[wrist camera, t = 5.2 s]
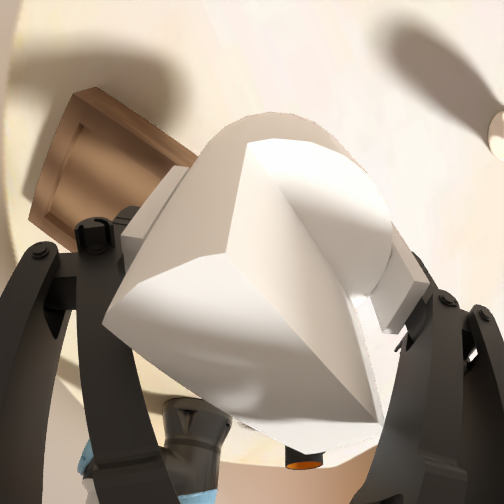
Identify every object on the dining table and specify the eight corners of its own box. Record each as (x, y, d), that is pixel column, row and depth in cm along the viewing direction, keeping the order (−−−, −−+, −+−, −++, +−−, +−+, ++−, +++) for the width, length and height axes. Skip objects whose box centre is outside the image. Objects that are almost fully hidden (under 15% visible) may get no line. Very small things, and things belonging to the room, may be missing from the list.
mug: (339, 417, 59) (343, 458, 51) (304, 434, 65) (306, 471, 57) (312, 411, 57) (314, 455, 48) (278, 428, 63) (277, 467, 54)
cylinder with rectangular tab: (378, 217, 17) (469, 397, 7) (252, 282, 20) (242, 466, 10) (301, 79, 13) (418, 121, 3) (160, 174, 16) (38, 349, 6)
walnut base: (147, 272, 36) (137, 295, 33) (46, 202, 31) (28, 219, 27) (224, 175, 29) (217, 193, 25) (96, 87, 23) (73, 93, 20)
